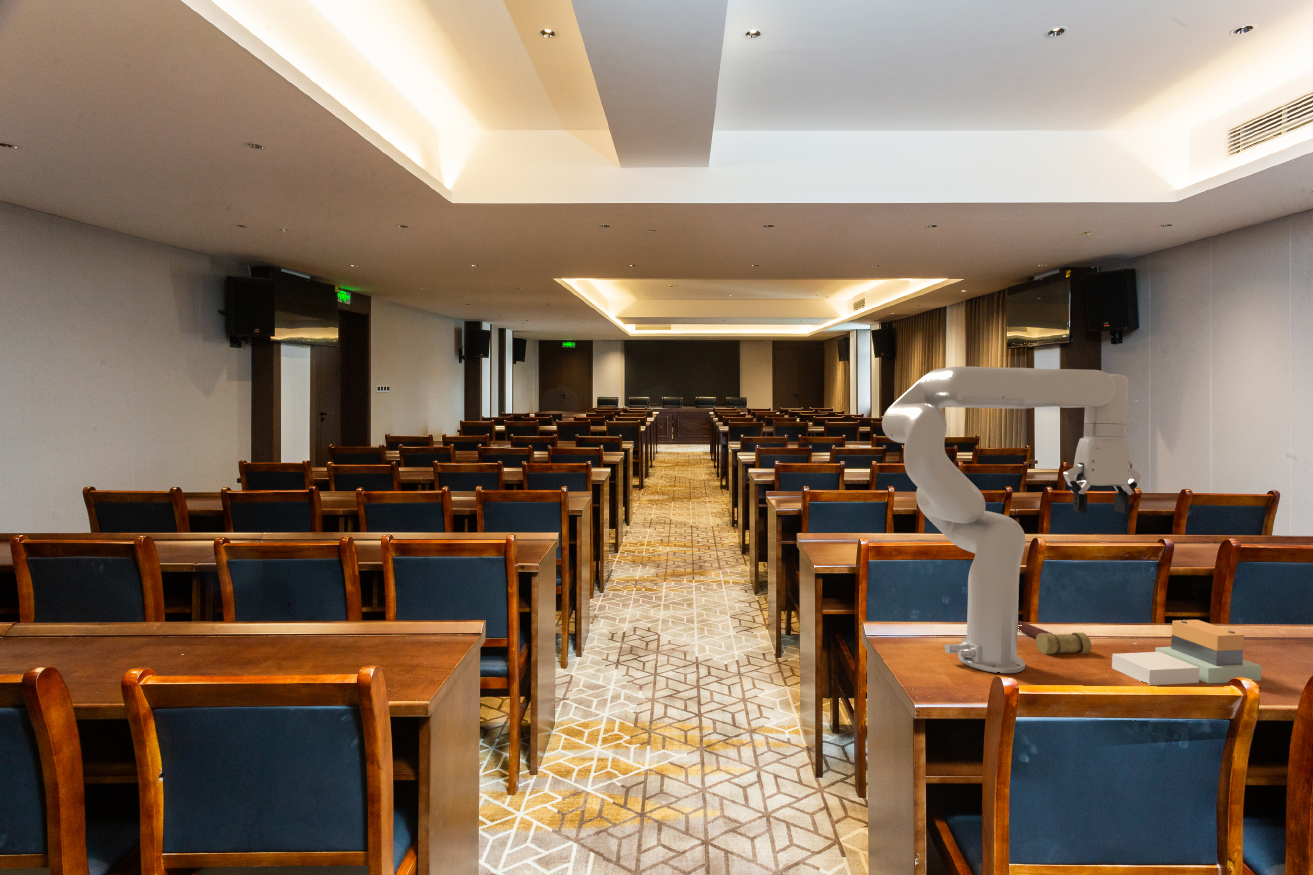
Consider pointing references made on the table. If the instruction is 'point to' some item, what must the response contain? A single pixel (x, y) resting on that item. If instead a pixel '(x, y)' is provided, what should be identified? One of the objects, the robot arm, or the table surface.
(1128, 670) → the stand
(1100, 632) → the table surface
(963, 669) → the table surface
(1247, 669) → the stand
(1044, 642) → the gavel
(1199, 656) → the housing base
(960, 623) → the table surface
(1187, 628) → the housing cover
